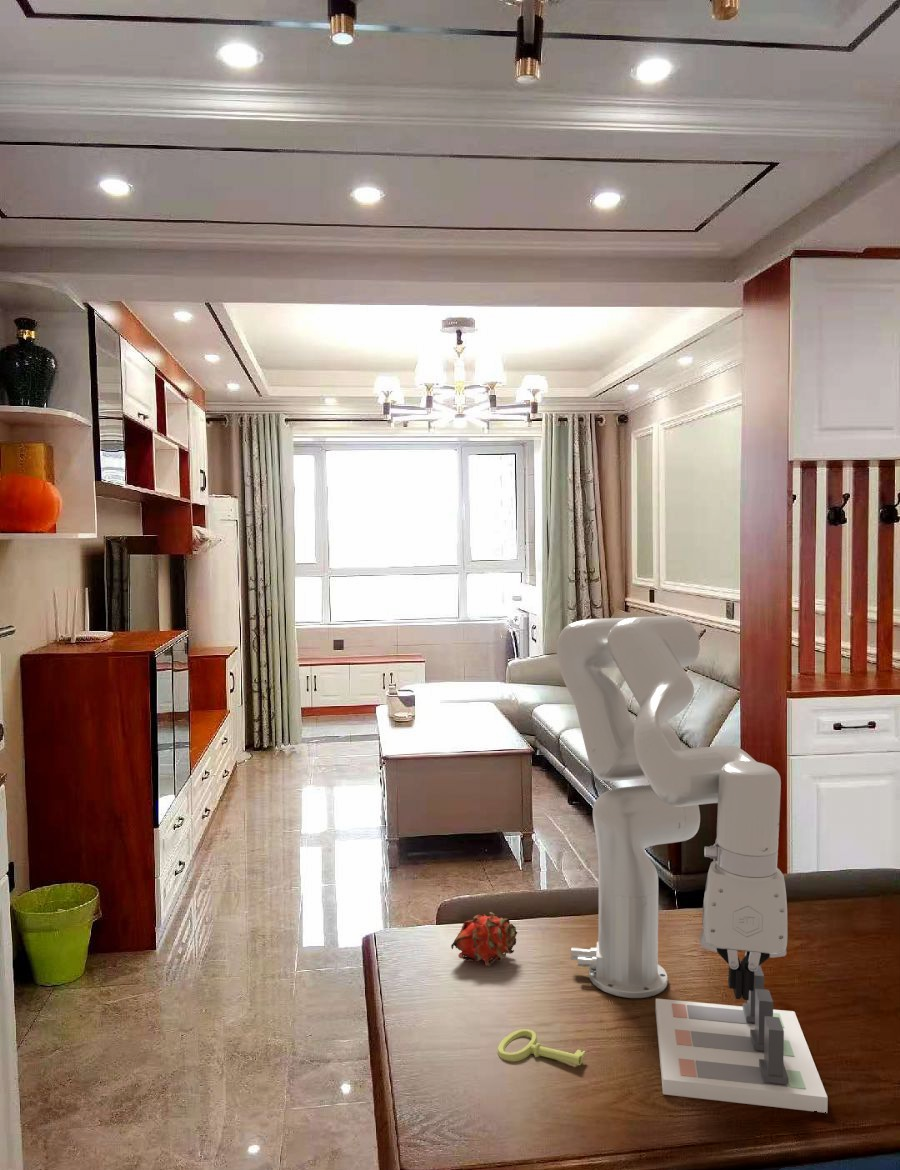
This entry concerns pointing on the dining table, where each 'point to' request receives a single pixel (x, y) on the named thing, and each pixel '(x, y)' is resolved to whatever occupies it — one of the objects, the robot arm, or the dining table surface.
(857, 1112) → the dining table surface
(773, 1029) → the switch
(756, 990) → the middle switch
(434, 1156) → the dining table surface
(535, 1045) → the key
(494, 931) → the dragon fruit
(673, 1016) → the switch board
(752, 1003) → the far switch
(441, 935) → the dining table surface
